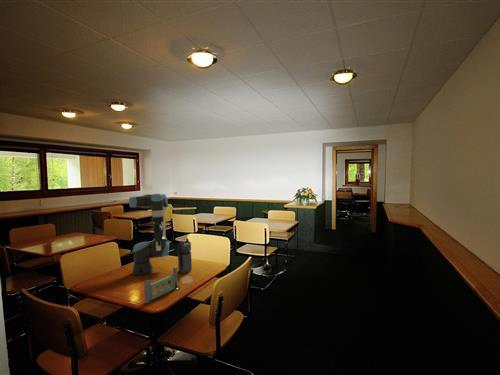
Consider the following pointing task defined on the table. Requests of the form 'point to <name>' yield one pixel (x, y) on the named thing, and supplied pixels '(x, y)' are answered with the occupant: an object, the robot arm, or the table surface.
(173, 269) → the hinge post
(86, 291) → the table surface
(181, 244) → the beverage bottle
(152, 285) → the gate
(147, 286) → the post
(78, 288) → the table surface
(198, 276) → the table surface
